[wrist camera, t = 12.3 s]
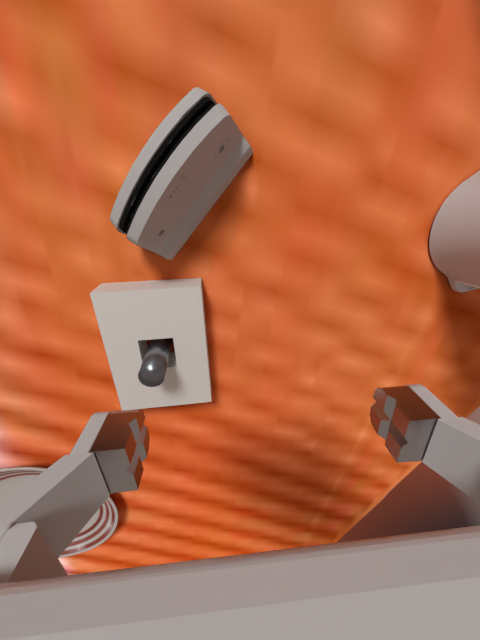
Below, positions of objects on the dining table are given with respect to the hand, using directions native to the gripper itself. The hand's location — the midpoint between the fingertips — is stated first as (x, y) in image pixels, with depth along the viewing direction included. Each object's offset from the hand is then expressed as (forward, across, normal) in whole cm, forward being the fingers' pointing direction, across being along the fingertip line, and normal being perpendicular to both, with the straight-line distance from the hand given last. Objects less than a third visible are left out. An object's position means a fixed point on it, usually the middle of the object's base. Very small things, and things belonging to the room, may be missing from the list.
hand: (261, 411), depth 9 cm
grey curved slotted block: (+29, +5, -8) cm, 31 cm away
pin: (+28, +10, +12) cm, 32 cm away
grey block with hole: (+28, +10, +12) cm, 32 cm away
